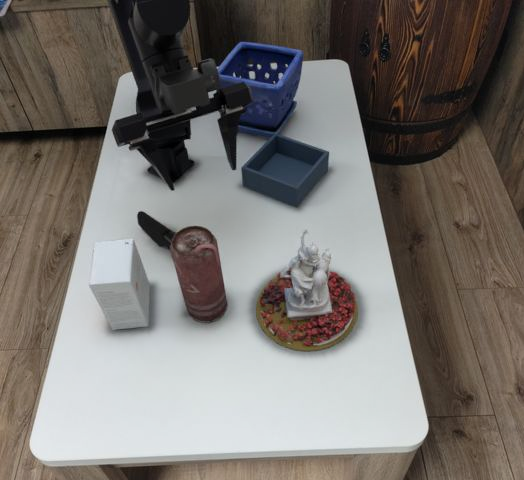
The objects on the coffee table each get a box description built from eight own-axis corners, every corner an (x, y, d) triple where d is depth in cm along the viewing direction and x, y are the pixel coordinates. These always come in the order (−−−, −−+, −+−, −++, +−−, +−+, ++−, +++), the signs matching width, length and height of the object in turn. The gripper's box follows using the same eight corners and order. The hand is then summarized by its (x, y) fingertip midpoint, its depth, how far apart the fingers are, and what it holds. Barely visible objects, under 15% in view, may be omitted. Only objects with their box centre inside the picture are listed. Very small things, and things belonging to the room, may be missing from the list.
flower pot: (217, 135, 98) (209, 74, 88) (244, 98, 104) (239, 37, 94) (280, 149, 95) (279, 87, 85) (304, 110, 101) (306, 49, 91)
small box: (115, 289, 78) (93, 240, 69) (151, 285, 78) (133, 236, 69) (111, 331, 73) (87, 285, 65) (149, 327, 73) (130, 281, 65)
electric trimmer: (152, 218, 86) (148, 204, 84) (211, 263, 80) (209, 249, 77) (135, 230, 85) (130, 216, 82) (194, 277, 78) (190, 263, 76)
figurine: (253, 274, 78) (247, 203, 66) (348, 266, 78) (359, 194, 66) (259, 355, 70) (254, 290, 58) (366, 346, 70) (382, 280, 58)
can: (223, 326, 73) (211, 260, 61) (182, 320, 74) (162, 254, 62) (233, 294, 76) (223, 226, 64) (193, 289, 77) (176, 220, 65)
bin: (242, 186, 89) (241, 167, 86) (275, 151, 94) (275, 132, 91) (296, 207, 86) (297, 188, 83) (327, 170, 91) (329, 151, 87)
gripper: (92, 61, 55) (146, 203, 61) (248, 18, 58) (284, 156, 64) (92, 81, 65) (138, 201, 71) (224, 44, 68) (258, 160, 74)
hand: (203, 180), depth 70 cm, fingers open, 9 cm apart
